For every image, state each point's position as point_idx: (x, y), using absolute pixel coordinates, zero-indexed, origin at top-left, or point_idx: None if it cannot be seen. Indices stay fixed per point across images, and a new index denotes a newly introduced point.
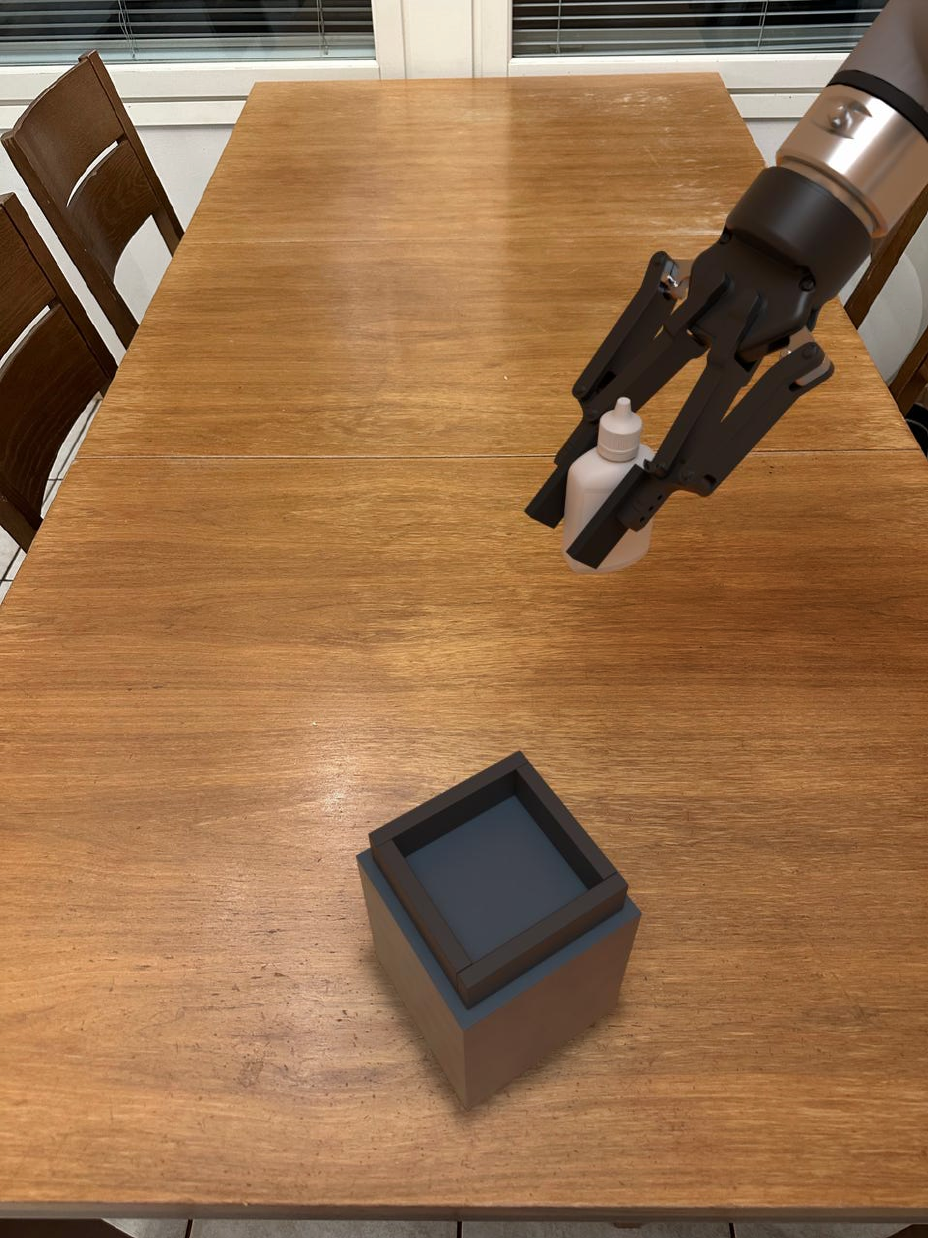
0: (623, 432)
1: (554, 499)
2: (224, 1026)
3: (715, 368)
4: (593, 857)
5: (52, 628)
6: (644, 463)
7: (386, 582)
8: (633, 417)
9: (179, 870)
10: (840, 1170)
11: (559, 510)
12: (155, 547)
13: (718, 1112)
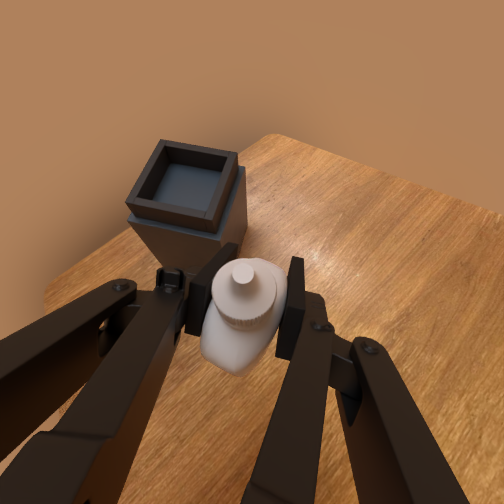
0: (224, 267)
1: (288, 277)
2: (267, 182)
3: (81, 431)
4: (146, 201)
5: (489, 225)
6: (183, 271)
7: (430, 376)
8: (229, 296)
9: (328, 199)
10: (69, 277)
11: None
12: None
13: (114, 265)
